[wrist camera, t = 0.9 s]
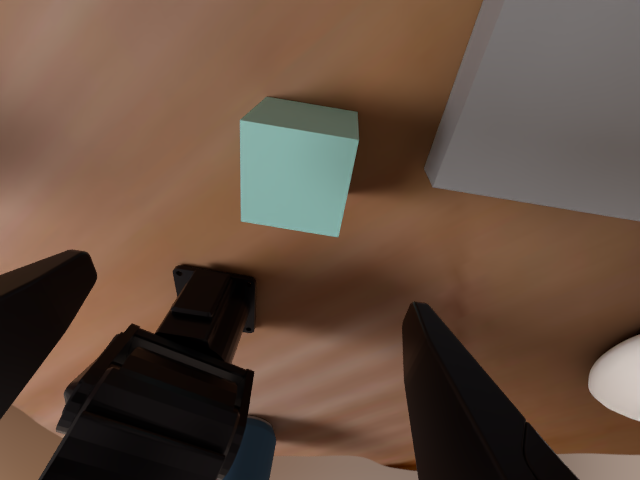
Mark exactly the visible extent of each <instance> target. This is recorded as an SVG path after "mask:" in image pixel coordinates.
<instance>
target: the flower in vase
mask: <svg viewBox="0 0 640 480" xmlns="http://www.w3.org/2000/svg"><path fill="white" fill-rule="evenodd" d="M588 387H589V391H590V392H591V394H592V395H593V396H594V397H595V398H596V399H597V400H598V401H599V402H601V403H602V404H603V405H604V406H606V407H607V408H609V409H611V410H613V411H615V412H617V413H619V414H622V415H624V416H626V417H629V418H631V419H634V420H637V421H640V334H639V335H636V336H634V337H632V338H629V339H627V340H625V341H623V342H621V343H619V344H618V345H616V346H614V347H613V348H611V349H610V350H608V351H607V352H606V353H604V354H603V355H602V356H601V357H600V358H599V359H598V360H597V361H596V362H595V363H594V365H593V366H592V368H591V370H590V373H589V381H588Z"/></svg>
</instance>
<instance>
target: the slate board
mask: <svg viewBox="0 0 640 480" xmlns="http://www.w3.org/2000/svg"><path fill="white" fill-rule="evenodd" d="M424 170H425V172H426V174H427V176H428V178H429V180H430V183H431V185H432V187H435V188H441V189H447V190H453V191H459V192H465V193H471V194H477V195H483V196H489V197H495V198H501V199H507V200H513V201H519V202H526V203H532V204H538V205H544V206H550V207H556V208H562V209H568V210H574V211H580V212H586V213H592V214H598V215H604V216H610V217H616V218H622V219H628V220H634V221H640V0H483V3H482V6H481V9H480V11H479V14H478V17H477V20H476V23H475V25H474V28H473V31H472V34H471V37H470V40H469V42H468V45H467V48H466V51H465V54H464V57H463V59H462V62H461V65H460V68H459V71H458V74H457V76H456V79H455V82H454V85H453V88H452V90H451V93H450V96H449V99H448V102H447V105H446V107H445V110H444V113H443V116H442V119H441V122H440V124H439V127H438V130H437V133H436V136H435V139H434V141H433V144H432V147H431V150H430V153H429V155H428V158H427V161H426V164H425V167H424Z"/></svg>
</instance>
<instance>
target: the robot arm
mask: <svg viewBox="0 0 640 480" xmlns="http://www.w3.org/2000/svg"><path fill="white" fill-rule="evenodd" d="M173 276H174V281H175V287H176V292H177V299H176V300H175V302H174V303H173V305H172V307H171V309H170V310H169V312H168V314H167V315H166V317H165V318H164V320H163V322H162V323H161V325H160V326H159V328H158V329H157V331H156V333H155V334H154V333H151V332H149V331H146V330H143V329H141V328H140V326H137V325H135V324H131V325H130V326H129V327H128V328H127V330H126V331H125V332H124V333H123V332H121V333H120V334H117V335H116V336H115V337H114V338H113V339H112V341H111V342H110V343H109V345H108V346H107V347H106V349H105V350H104V351H103V353H102V354H101V355H100V356H99V357H98V358H97V359H96V360H95V361H94V362H93V363H92V364H91V365H90V366H89V367H87V368H86V369H85V370H84V371H83V372H82V373H81V374H80V375H79V376H78V377H77V378H75V379H74V380H73V381H72V382H71V383H70V384H69V385H68V387H67V388H66V390H65V392H64V398H65V403H66V405H65V407H64V409H63V412H62V416H61V418H60V420H59V422H58V424H57V427H56V432H59V433H62V434H66V435H65V436H64V438H63V440H62V441H61V443H60V445H59V446H58V448H57V450H56V451H55V453H54V455H53V456H52V458H51V460H50V461H49V463H48V465H47V466H46V468H45V470H44V471H43V473H42V475H41V476H40V478H39V480H217V479H218V480H222V479H223V478H224V477H225V476H226V475H227V473H228V472H229V470H230V468H231V466H232V464H233V462H234V460H235V458H236V455H237V453H238V450H239V448H240V445H241V442H242V439H243V435H244V432H245V428H246V423H247V417H248V410H249V404H250V397H251V390H252V384H253V377H254V371H252V370H249V369H246V370H245V369H243V368H240V367H238V366H235V365H233V364H231V363H232V360H233V358H234V355H235V352H236V349H237V346H238V343H239V341H240V338H241V335H242V332H246V333H253V332H254V329H255V322H256V280H255V279H254V278H253V277H249V276H243V275H237V274H231V273H225V272H218V271H212V270H206V269H200V268H194V267H187V266H181V265H178V266H176V267H175V269H174V270H173ZM96 280H97V272H96V270H95V267H94V265H93V262H92V259H91V257H90V255H89V254H88V253H87V252H85V251H79V250H67V251H65V252H62V253H59V254H56V255H54V256H51V257H48V258H46V259H43V260H40V261H37V262H35V263H32V264H29V265H26V266H24V267H21V268H18V269H16V270H13V271H10V272H7V273H5V274H2V275H0V419H1V418H2V416H3V415H4V414H5V412H6V411H7V410H8V408H9V407H10V406H11V404H12V403H13V402H14V400H15V399H16V398H17V396H18V395H19V394H20V392H21V391H22V390H23V388H24V387H25V386H26V384H27V383H28V382H29V380H30V379H31V378H32V376H33V375H34V374H35V372H36V371H37V370H38V368H39V367H40V366H41V364H42V363H43V362H44V360H45V359H46V357H47V356H48V355H49V353H50V352H51V351H52V349H53V348H54V347H55V345H56V344H57V343H58V341H59V340H60V339H61V337H62V336H63V335H64V333H65V332H66V330H67V329H68V327H69V326H70V324H71V322H72V321H73V319H74V317H75V316H76V314H77V312H78V311H79V309H80V307H81V306H82V304H83V303H84V301H85V299H86V298H87V296H88V294H89V293H90V291H91V289H92V288H93V286H94V284H95V282H96ZM248 282H249V283H248ZM250 283H251V284H250ZM402 338H403V367H404V384H405V391H406V398H407V405H408V412H409V418H410V425H411V432H412V438H413V445H414V452H415V459H416V465H417V472H418V478H419V480H579V479H578V478H577V477H576V475H575V474H574V473H573V472H572V471H571V470H570V469H569V468H568V467H567V466H566V465H565V464H564V462H563V461H562V460H561V459H560V458H559V457H558V456H557V455H556V453H555V452H554V451H553V450H552V449H551V448H550V447H549V445H548V444H547V443H546V442H545V441H544V440H543V439H542V437H541V436H540V435H539V434H538V433H537V432H536V430H535V429H534V428H533V427H532V426H531V424H530V423H529V422H526V419H525V418H524V416H523V415H522V414H521V413H520V412H519V411H518V409H517V408H516V407H515V406H514V405H513V403H512V402H511V401H510V400H509V399H508V398H507V396H506V395H505V394H504V393H503V392H502V391H501V389H500V388H499V387H498V386H497V385H496V383H495V382H494V381H493V380H492V379H491V378H490V376H489V375H488V374H487V373H486V372H485V371H484V369H483V368H482V367H481V366H480V365H479V363H478V362H477V361H476V360H475V359H474V358H473V356H472V355H471V354H470V353H469V352H468V351H467V349H466V348H465V347H464V346H463V345H462V343H461V342H460V341H459V340H458V339H457V338H456V336H455V335H454V334H453V333H452V332H451V331H450V329H449V328H448V327H447V326H446V325H445V323H444V322H443V321H442V320H441V319H440V318H439V316H438V315H437V314H436V313H435V312H434V311H433V309H432V308H431V307H430V306H429V305H428V304H426V303H422V302H415V301H414V302H412V303H411V304H410V306H409V308H408V311H407V313H406V316H405V318H404V320H403V325H402Z"/></svg>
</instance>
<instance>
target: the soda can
mask: <svg viewBox="0 0 640 480" xmlns="http://www.w3.org/2000/svg"><path fill="white" fill-rule="evenodd" d="M275 445H276V437H275V434H274V430H273V427H272V425H271V424H270V423H269V422H267V421H266V420H264V419H261V418H259V417H255V416H249V415H248V417H247V423H246V428H245V432H244V435H243V439H242V442H241V445H240V448H239V450H238V453H237V455H236V458H235V460H234V462H233V464H232V466H231V468H230V470H229V472H228V473H227V475H226V476H225V477H224V478H223V479H222V480H269V478H270V472H271V467H272V461H273V456H274V450H275ZM217 480H218V479H217Z"/></svg>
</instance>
